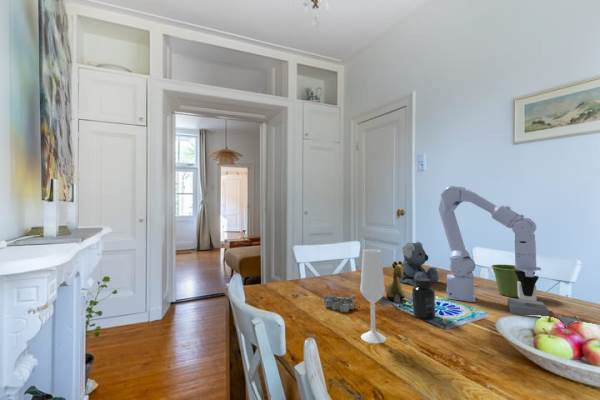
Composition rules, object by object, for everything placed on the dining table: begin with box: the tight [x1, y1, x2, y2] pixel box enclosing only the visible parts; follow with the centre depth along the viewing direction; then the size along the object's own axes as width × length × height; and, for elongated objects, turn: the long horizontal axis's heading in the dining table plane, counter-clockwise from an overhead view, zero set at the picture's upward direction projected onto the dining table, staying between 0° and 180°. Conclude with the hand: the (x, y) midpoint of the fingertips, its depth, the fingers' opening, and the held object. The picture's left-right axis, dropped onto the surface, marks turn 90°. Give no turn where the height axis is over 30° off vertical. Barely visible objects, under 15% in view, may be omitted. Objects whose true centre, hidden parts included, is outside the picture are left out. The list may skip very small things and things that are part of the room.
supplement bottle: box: [411, 278, 436, 320], centre depth 97 cm, size 7×7×12 cm
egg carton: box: [322, 295, 356, 313], centre depth 106 cm, size 11×8×4 cm
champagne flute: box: [359, 248, 387, 344], centre depth 81 cm, size 7×7×24 cm
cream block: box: [517, 281, 538, 301], centre depth 100 cm, size 4×4×5 cm
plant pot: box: [491, 264, 520, 298], centre depth 119 cm, size 12×12×11 cm
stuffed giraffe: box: [378, 260, 413, 308], centre depth 115 cm, size 16×18×16 cm
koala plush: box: [399, 241, 439, 287], centre depth 141 cm, size 17×18×20 cm
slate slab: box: [506, 297, 550, 317], centre depth 100 cm, size 10×10×3 cm
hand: (526, 293), depth 100 cm, fingers closed on cream block, 4 cm apart
